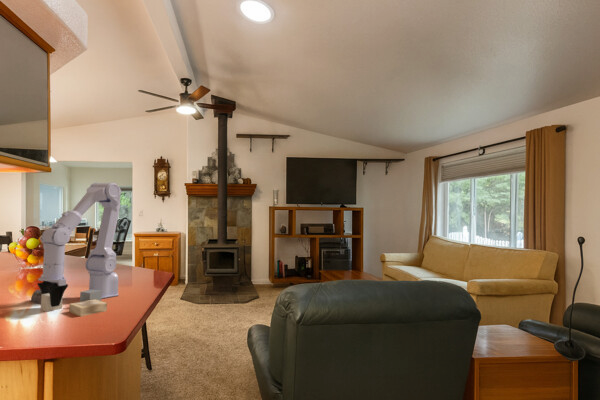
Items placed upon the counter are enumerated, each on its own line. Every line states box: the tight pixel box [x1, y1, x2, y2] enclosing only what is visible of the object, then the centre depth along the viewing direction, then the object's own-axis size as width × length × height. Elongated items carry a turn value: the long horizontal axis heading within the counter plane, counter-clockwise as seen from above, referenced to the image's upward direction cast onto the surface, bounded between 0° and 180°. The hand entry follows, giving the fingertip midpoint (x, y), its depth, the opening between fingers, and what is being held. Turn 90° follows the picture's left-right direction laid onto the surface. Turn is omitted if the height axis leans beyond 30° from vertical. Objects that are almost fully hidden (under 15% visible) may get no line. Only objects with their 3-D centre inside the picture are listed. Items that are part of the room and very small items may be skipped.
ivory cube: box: [40, 293, 64, 313], centre depth 116 cm, size 4×4×5 cm
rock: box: [30, 289, 65, 304], centre depth 127 cm, size 9×11×4 cm
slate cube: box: [79, 289, 102, 302], centre depth 122 cm, size 4×4×5 cm
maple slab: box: [68, 299, 108, 317], centre depth 114 cm, size 8×8×3 cm
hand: (51, 304), depth 116 cm, fingers open, 5 cm apart
